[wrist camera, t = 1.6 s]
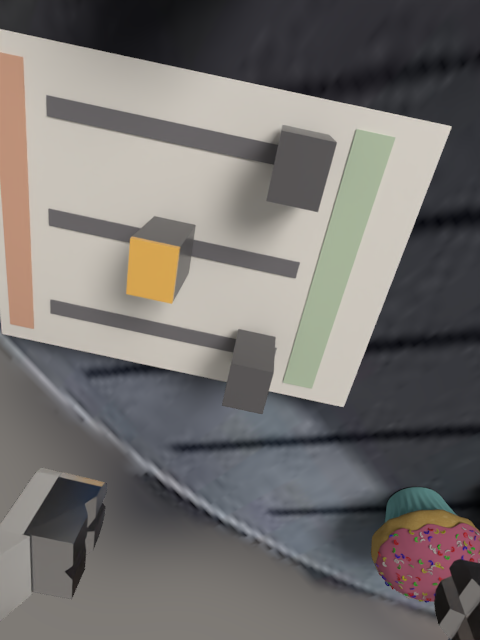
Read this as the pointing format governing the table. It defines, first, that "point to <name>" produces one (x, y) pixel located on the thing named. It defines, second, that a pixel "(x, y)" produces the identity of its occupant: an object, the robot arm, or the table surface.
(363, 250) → the white slider switch panel
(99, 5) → the table surface
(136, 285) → the block
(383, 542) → the cupcake
